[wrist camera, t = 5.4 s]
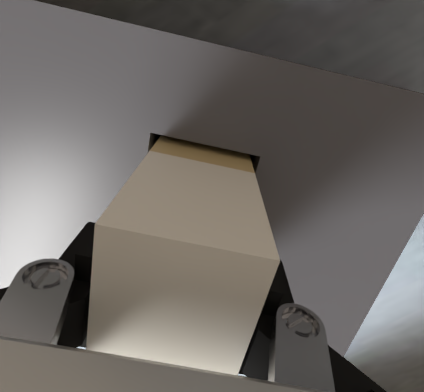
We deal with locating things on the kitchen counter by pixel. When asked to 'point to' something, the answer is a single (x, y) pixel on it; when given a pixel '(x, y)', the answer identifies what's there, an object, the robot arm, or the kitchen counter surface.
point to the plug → (182, 260)
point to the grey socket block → (209, 135)
